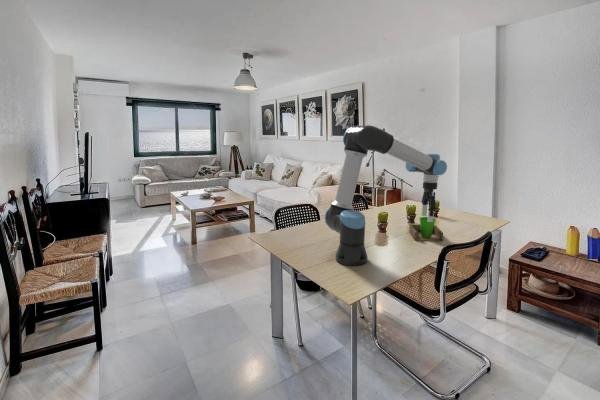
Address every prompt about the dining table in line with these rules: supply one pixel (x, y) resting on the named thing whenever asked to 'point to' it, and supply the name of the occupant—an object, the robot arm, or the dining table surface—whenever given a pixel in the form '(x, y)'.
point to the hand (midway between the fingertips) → (426, 218)
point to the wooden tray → (416, 234)
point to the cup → (426, 227)
